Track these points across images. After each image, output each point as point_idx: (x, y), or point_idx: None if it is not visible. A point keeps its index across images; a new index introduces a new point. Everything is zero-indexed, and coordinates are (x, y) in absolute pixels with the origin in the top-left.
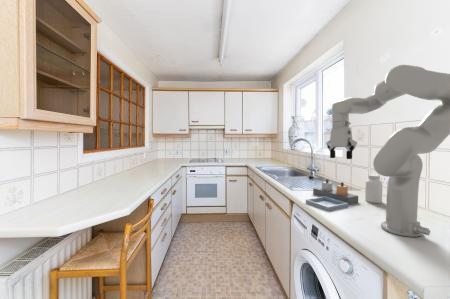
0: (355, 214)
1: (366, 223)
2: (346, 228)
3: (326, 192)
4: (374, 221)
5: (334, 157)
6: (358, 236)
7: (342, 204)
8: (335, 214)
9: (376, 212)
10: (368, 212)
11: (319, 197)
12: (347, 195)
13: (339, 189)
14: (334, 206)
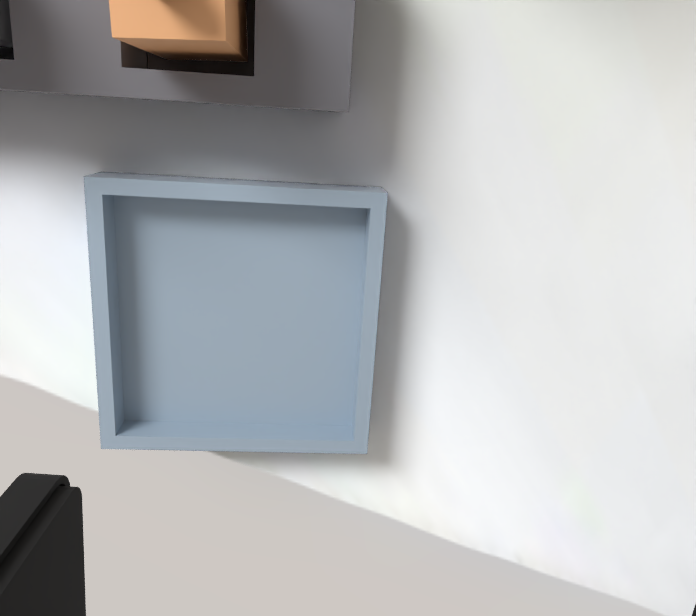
0: (505, 287)
1: (635, 390)
2: (592, 557)
3: (25, 90)
4: (655, 307)
5: (80, 525)
6: (678, 589)
7: (380, 277)
8: (418, 419)
9: (588, 73)
10: (546, 139)
11: (98, 269)
12: (282, 26)
13: (172, 43)
14: (371, 381)
